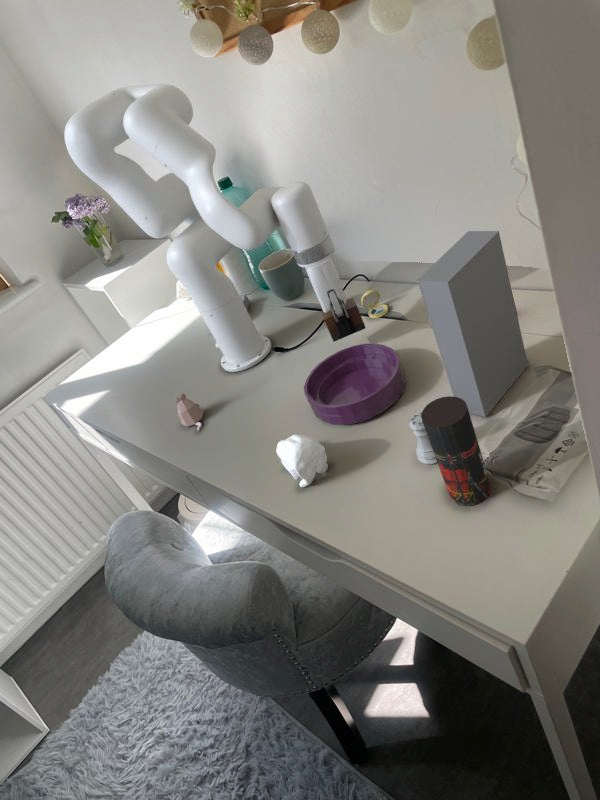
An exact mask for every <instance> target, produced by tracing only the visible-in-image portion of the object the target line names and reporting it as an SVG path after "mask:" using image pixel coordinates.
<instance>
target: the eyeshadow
mask: <svg viewBox="0 0 600 800" xmlns="http://www.w3.org/2000/svg"><path fill="white" fill-rule="evenodd" d="M380 299H381V295H380V293H379V291H378V290H376V289H368V290H367V291H365V292H364V293H363V295H362V296H361V299H360V302H361V305H362V306H363V307H364V308H365V309H369V310H368V313H367V314H368V317H369V318H371V319H379V318H381V317H384V316H385V315H386V314H387V313H388V312H389V307H388V305H387V304H384V303H382V304H379V302H380Z"/></svg>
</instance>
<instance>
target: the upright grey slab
mask: <svg viewBox="0 0 600 800" xmlns="http://www.w3.org/2000/svg"><path fill="white" fill-rule="evenodd" d="M416 281H417V284H418V287H419V290H420V293H421V296H422V300H423V302H424V306H425V310H426V313H427V316H428V320H429V323H430V325H431V329H432V332H433V334H434V338H435V341H436V345H437V348H438V351H439V354H440V357H441V360H442V363H443V367H444V371H445V373H446V376H447V379H448V383H449V386H450V389H451V392H452V397H458V398H461V399H462V400H464V401H465V402H466V404H467V407H468V411H469V414H470V415H471V414H472V415H476V416H479V417H483V418H486V417H488V415H489V414H490V413H491V411H492V410H493V409H494V407H495V406H496V405H497V404H498V403H499V401H500V400H501V399H502V398H503V397H504V395H505V394H506V393H507V392H508V390H509V389H511V387H512V385H514V383H515V382H516V381H517V379H518V378H519V377H520V376H521V375H522V374H523V372H524V371H525V370H526V369H527V368H528V366H529V364H530V362H529V358H528V357H527V354H526V349H525V345H524V339H523V336H522V330H521V327H520V322H519V318H518V313H517V308H516V303H515V299H514V294H513V291H512V290H513V289H512V286H511V280H510V276H509V271H508V268H507V263H506V258H505V253H504V249H503V244H502V240H501V234H500V231H499V230H468V231H467V232H466V233H464V235H462V237H461V238H459V240H457V241H456V242H455V243H454V244H453V245H452V246H450V248H449V249H448V250H447V251H446V252H445V253H443V255H442V256H440V257H439V258H438V260H436V261H435V262H434V263H433V264H432V265H431V266H430V267H429V268H428V269H427V270H426V271H424V273H423V274H421V276H419V278H418V279H416Z"/></svg>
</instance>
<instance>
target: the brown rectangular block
mask: <svg viewBox="0 0 600 800" xmlns="http://www.w3.org/2000/svg"><path fill="white" fill-rule="evenodd" d="M344 306H345V308H346V311H347V313H348V315H350V317H351V320H352V322H353V324H354V327H355V329H356V332H355V333H354V334H356V333H358V332H360V331H363V330H365V329H366V328H367V327H366V325H365V323H364V320H363V318H362V314H361V313H360V310H359V308H358V305H357V303H356V300H355V299H354V297H351V298H348V299H346V304H345V305H344ZM341 309H342V310H343V308H342V307H341ZM334 311H335V310H334ZM320 313H321V316H322V318H323V321H324V323H325V326H326V328H327V331H328V332H329V335H330V337H331V339H332V342H333V343H334V342H336V341H340V340H342V339H343V338H342V337H341V335H340V333H339V331H338V328H337V326H336V324H335V318H334V316H333V314H332V311H331V309H330V311H328V312H327V313H325V312H324V311H323V310H320ZM335 313H336V311H335Z"/></svg>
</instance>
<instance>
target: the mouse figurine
mask: <svg viewBox="0 0 600 800" xmlns="http://www.w3.org/2000/svg"><path fill="white" fill-rule="evenodd" d="M174 402H175V403H177V417H178V418H179V420H180V422H181V425H183V426H185V427H192V426H194V425H195V426H197V432H200V429H201V428H202V427H203V425H202V423H201V421H202V419H203V417H204V411H203V409H202V408H201V407H200V403H195V402H194V401H192V400H191V399H189V398H187V395H186V394H185V393H183V392H182V393H181V394H180V395H179V396H175V397H174Z"/></svg>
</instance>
